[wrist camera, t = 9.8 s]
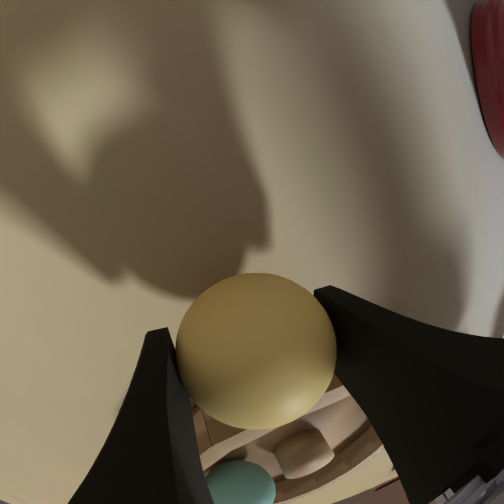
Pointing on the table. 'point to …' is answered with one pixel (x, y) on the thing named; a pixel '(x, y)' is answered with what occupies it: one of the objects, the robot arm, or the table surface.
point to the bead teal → (240, 483)
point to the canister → (490, 65)
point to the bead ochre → (256, 351)
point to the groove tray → (324, 418)
